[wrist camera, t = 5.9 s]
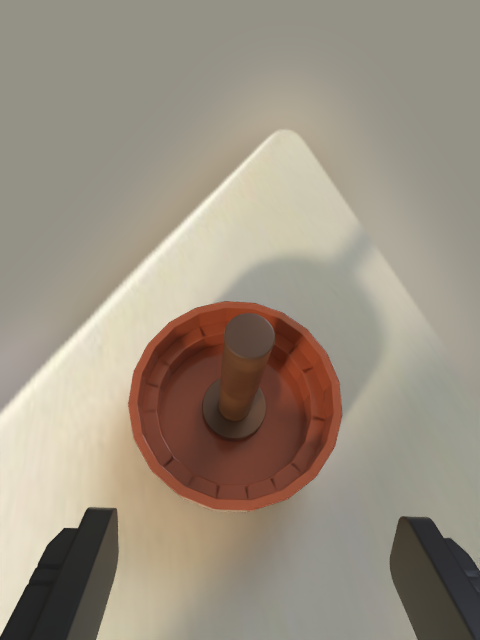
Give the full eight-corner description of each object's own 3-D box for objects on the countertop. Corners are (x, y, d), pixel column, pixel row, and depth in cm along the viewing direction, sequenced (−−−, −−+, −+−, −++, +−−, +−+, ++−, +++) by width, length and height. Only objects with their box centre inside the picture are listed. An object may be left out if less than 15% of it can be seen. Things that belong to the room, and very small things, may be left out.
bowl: (316, 335, 34) (332, 307, 30) (329, 515, 28) (351, 513, 24) (153, 325, 34) (145, 296, 29) (127, 508, 27) (111, 505, 23)
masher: (264, 381, 32) (298, 293, 20) (264, 443, 29) (303, 387, 17) (204, 378, 31) (202, 288, 19) (200, 440, 29) (193, 381, 17)
